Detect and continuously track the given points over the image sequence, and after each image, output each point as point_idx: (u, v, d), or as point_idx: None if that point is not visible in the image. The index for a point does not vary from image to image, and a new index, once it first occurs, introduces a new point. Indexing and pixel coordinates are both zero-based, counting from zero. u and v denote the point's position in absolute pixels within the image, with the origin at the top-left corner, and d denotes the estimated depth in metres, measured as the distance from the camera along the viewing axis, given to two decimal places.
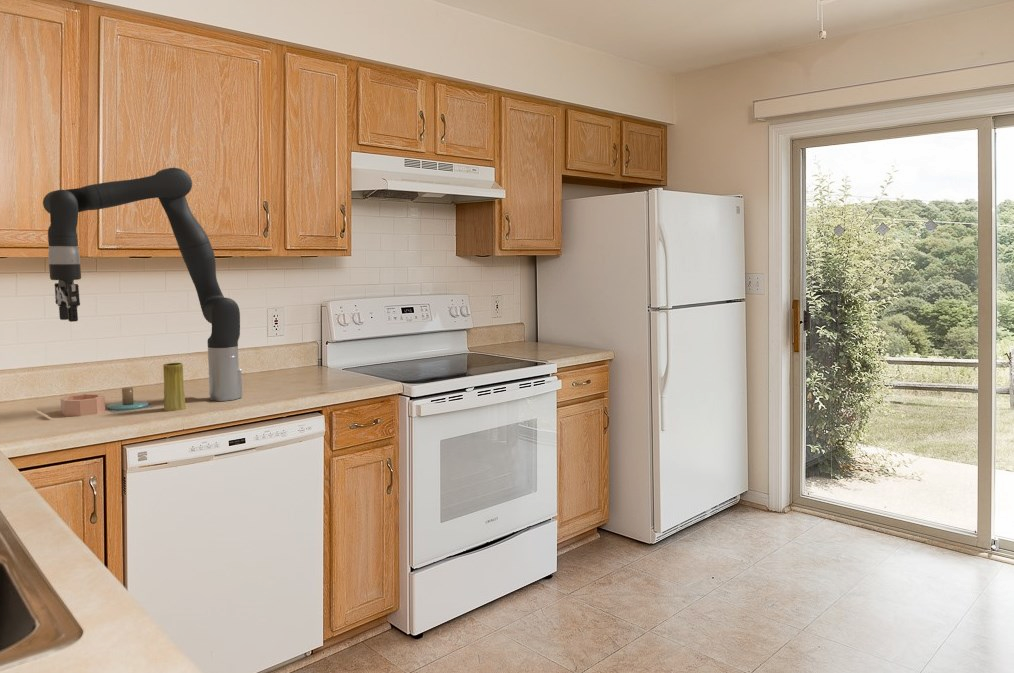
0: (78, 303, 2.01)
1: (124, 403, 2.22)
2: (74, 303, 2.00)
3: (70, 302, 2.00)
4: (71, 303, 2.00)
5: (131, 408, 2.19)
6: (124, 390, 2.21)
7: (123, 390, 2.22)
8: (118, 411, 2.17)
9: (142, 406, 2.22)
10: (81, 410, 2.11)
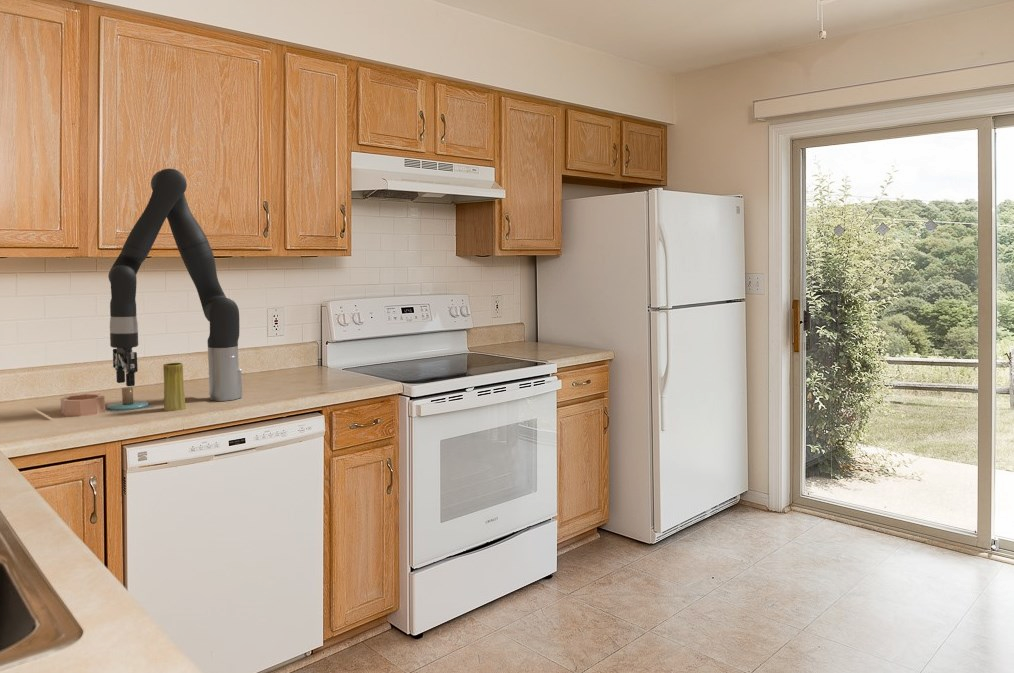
0: (136, 370, 2.18)
1: (124, 403, 2.22)
2: (132, 370, 2.17)
3: (129, 369, 2.16)
4: (130, 370, 2.16)
5: (131, 408, 2.19)
6: (124, 390, 2.21)
7: (123, 390, 2.21)
8: (118, 411, 2.17)
9: (142, 406, 2.22)
10: (81, 410, 2.11)
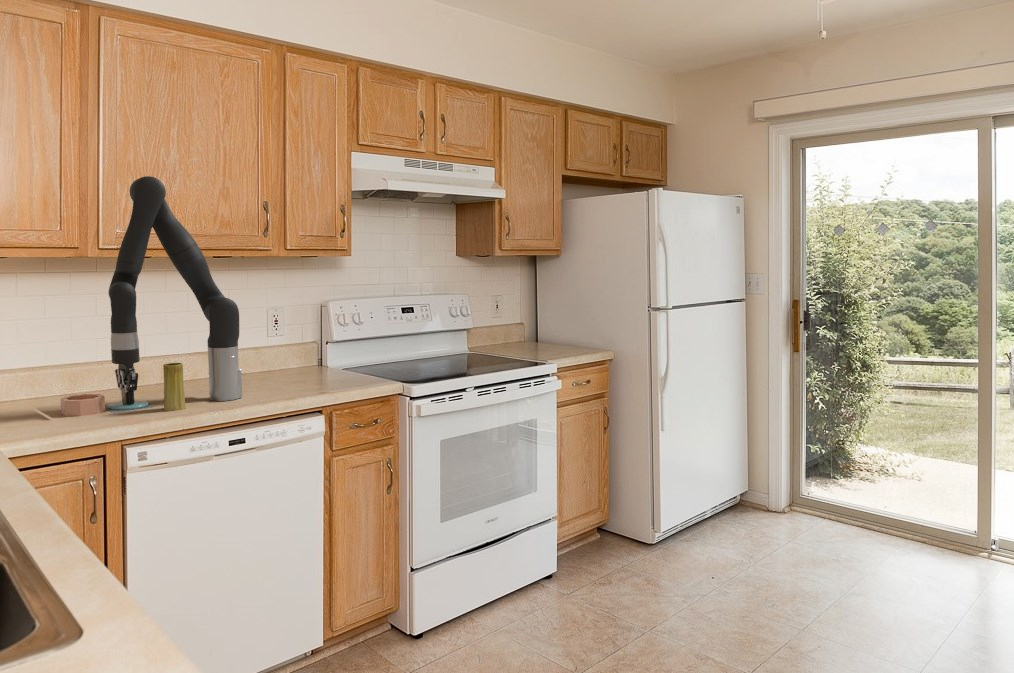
0: (135, 389, 2.20)
1: (124, 403, 2.22)
2: (132, 388, 2.20)
3: (128, 388, 2.19)
4: (129, 389, 2.19)
5: (131, 408, 2.19)
6: (124, 390, 2.21)
7: (123, 390, 2.21)
8: (118, 411, 2.17)
9: (142, 406, 2.22)
10: (81, 410, 2.11)
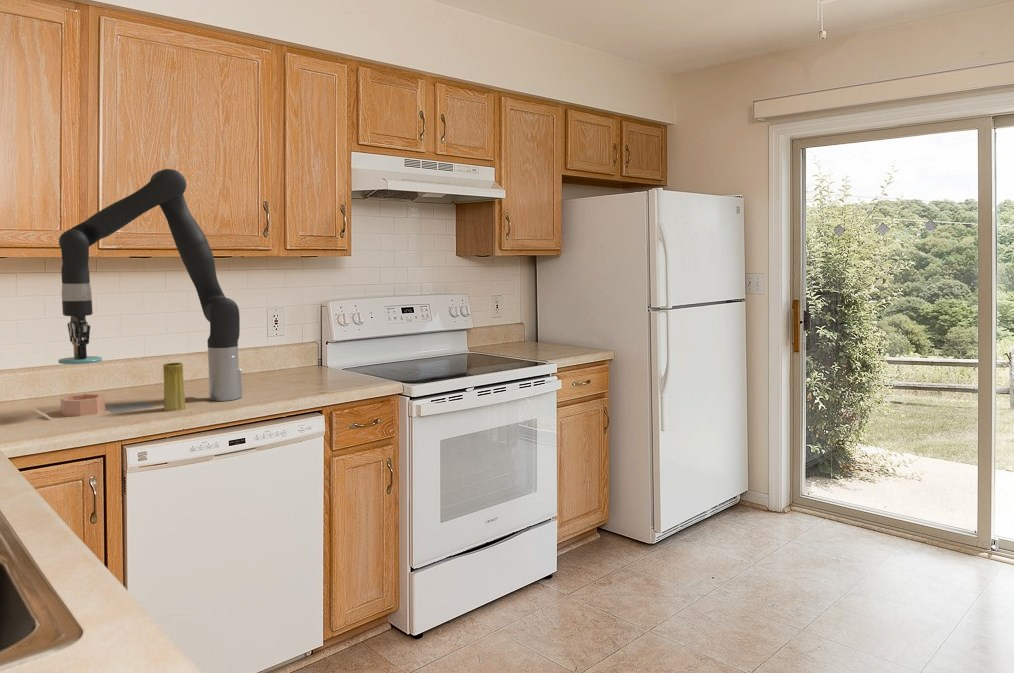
0: (87, 342, 2.11)
1: (76, 357, 2.13)
2: (83, 341, 2.10)
3: (80, 341, 2.10)
4: (80, 342, 2.10)
5: (83, 362, 2.10)
6: (76, 344, 2.12)
7: (75, 344, 2.12)
8: (118, 411, 2.17)
9: (95, 360, 2.12)
10: (81, 410, 2.11)
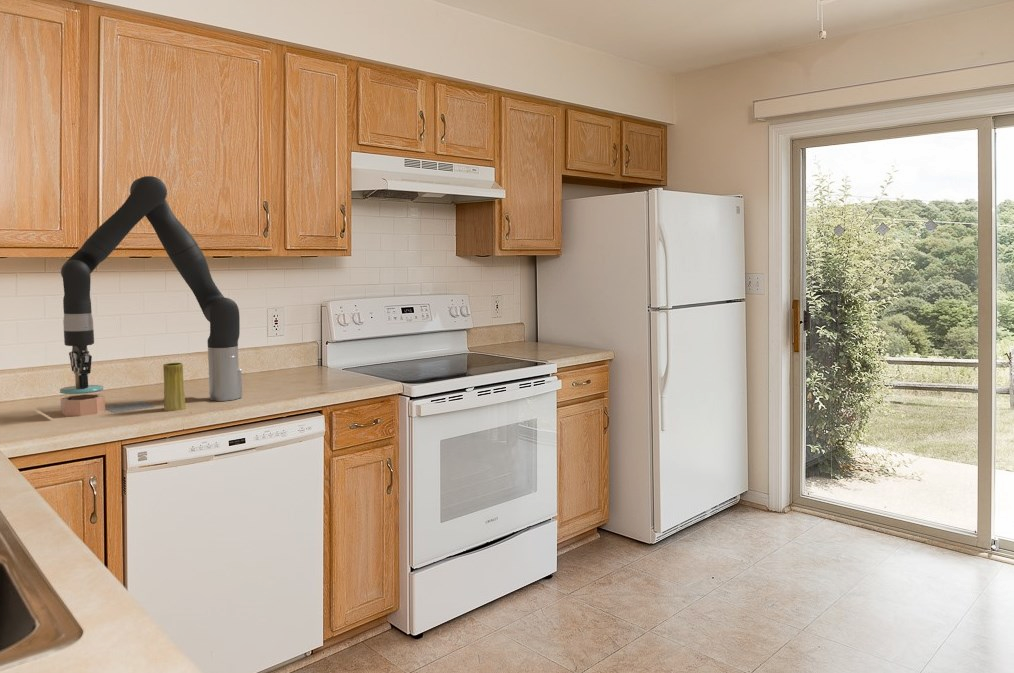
0: (89, 372, 2.12)
1: (77, 387, 2.13)
2: (85, 371, 2.11)
3: (81, 370, 2.10)
4: (82, 371, 2.11)
5: (84, 392, 2.11)
6: (77, 373, 2.13)
7: (76, 373, 2.13)
8: (118, 411, 2.17)
9: (96, 390, 2.13)
10: (81, 410, 2.11)
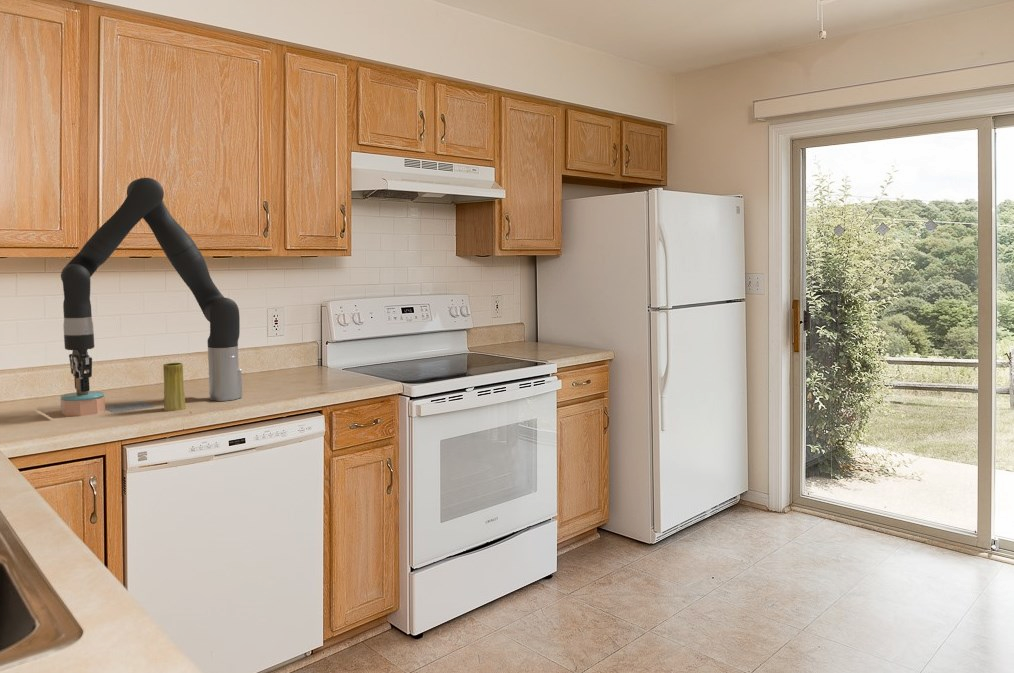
0: (90, 375, 2.11)
1: (78, 393, 2.14)
2: (86, 375, 2.10)
3: (82, 374, 2.10)
4: (83, 375, 2.10)
5: (85, 398, 2.11)
6: (78, 380, 2.13)
7: (77, 380, 2.13)
8: (118, 411, 2.17)
9: (97, 396, 2.14)
10: (81, 410, 2.11)
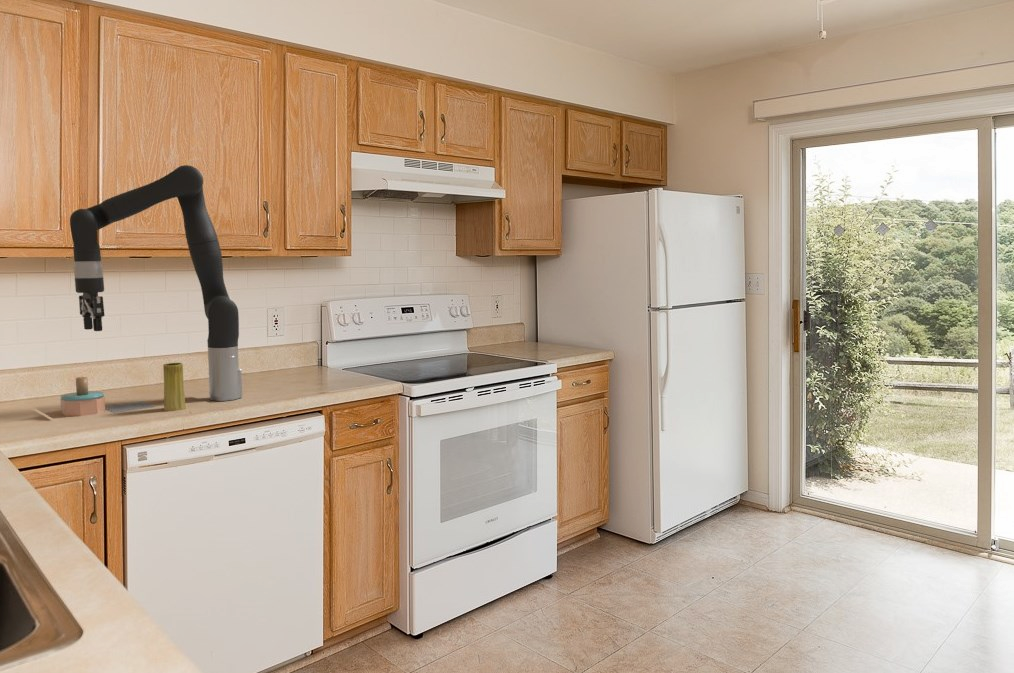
0: (103, 314, 2.17)
1: (78, 393, 2.14)
2: (99, 314, 2.16)
3: (95, 313, 2.15)
4: (96, 314, 2.15)
5: (85, 398, 2.11)
6: (78, 380, 2.13)
7: (77, 380, 2.13)
8: (118, 411, 2.17)
9: (97, 396, 2.14)
10: (81, 410, 2.11)
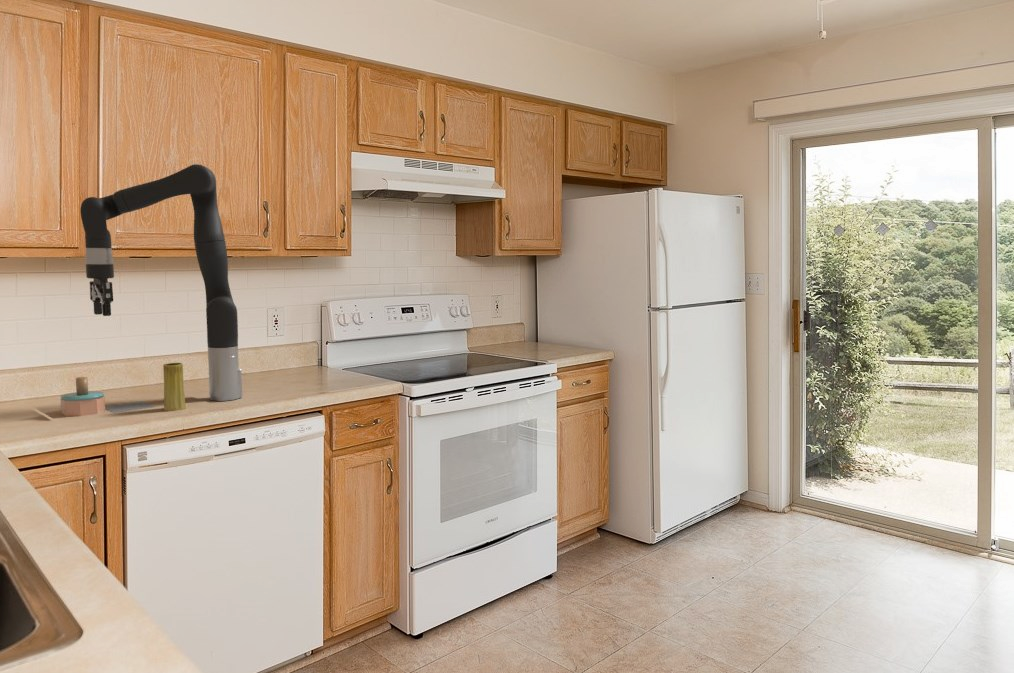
0: (112, 299, 2.23)
1: (78, 393, 2.14)
2: (108, 299, 2.23)
3: (105, 298, 2.22)
4: (105, 299, 2.22)
5: (85, 398, 2.11)
6: (78, 380, 2.13)
7: (77, 380, 2.13)
8: (118, 411, 2.17)
9: (97, 396, 2.14)
10: (81, 410, 2.11)
